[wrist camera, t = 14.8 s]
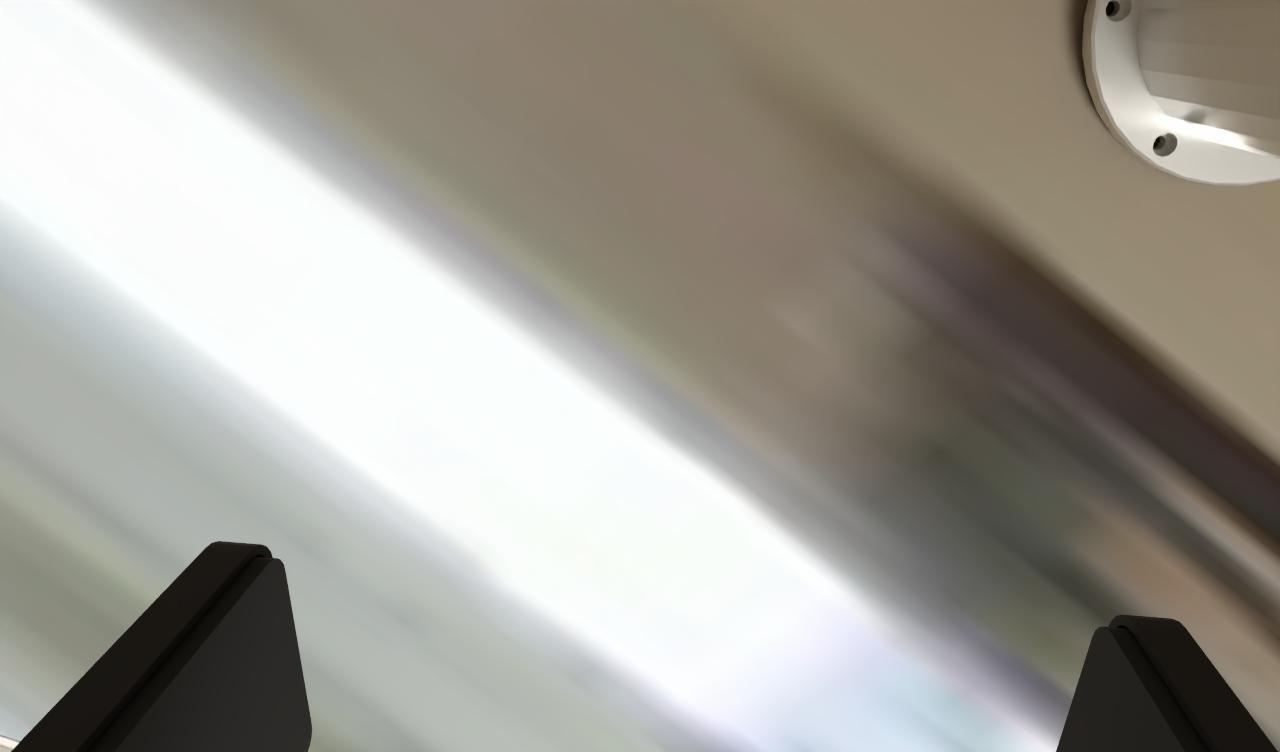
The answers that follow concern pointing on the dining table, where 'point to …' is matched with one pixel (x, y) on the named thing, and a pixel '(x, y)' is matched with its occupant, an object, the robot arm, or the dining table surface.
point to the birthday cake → (7, 744)
